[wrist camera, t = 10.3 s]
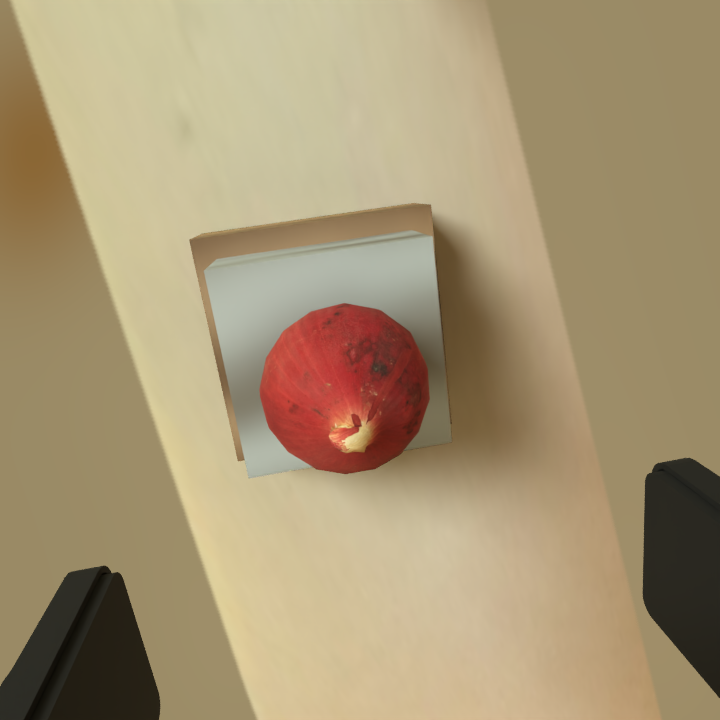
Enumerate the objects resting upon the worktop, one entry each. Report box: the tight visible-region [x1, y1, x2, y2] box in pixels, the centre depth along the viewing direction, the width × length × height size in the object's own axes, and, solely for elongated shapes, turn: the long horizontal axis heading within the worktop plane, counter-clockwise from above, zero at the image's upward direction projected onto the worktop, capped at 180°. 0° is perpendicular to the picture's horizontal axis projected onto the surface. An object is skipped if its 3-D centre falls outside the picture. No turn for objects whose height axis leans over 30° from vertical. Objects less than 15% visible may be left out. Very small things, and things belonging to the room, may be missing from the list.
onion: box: [259, 303, 430, 474], centre depth 20 cm, size 6×6×8 cm
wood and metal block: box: [189, 203, 452, 478], centre depth 27 cm, size 11×11×8 cm
